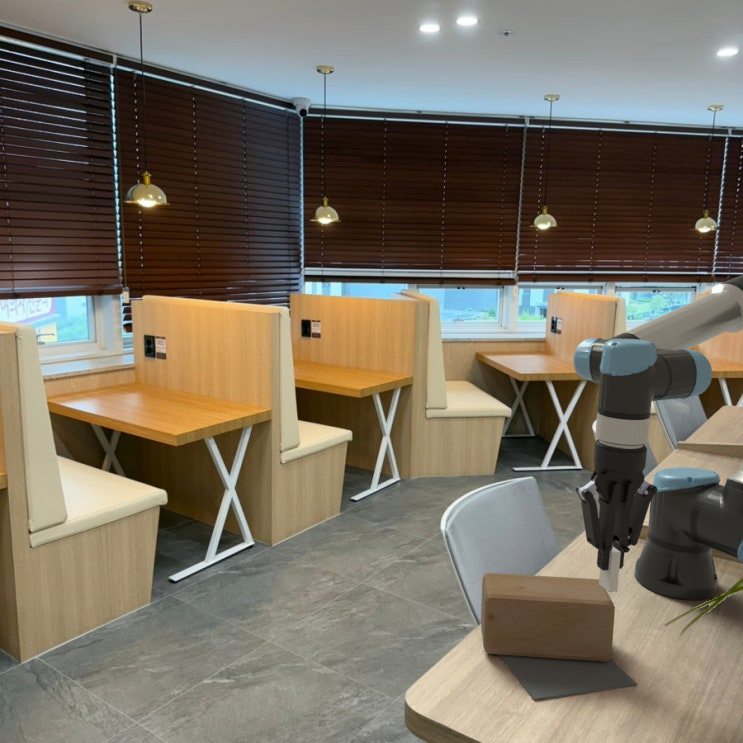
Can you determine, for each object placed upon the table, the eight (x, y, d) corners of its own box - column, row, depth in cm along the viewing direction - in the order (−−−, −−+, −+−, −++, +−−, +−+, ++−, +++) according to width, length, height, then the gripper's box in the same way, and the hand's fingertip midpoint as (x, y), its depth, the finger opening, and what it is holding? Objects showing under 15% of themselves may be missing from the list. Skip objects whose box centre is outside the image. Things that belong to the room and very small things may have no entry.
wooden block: (616, 604, 107) (486, 596, 109) (612, 664, 108) (483, 656, 110) (602, 577, 117) (482, 570, 118) (598, 632, 118) (480, 625, 120)
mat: (592, 642, 115) (592, 640, 115) (636, 685, 104) (636, 683, 104) (498, 654, 111) (498, 652, 111) (534, 700, 100) (534, 698, 100)
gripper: (642, 433, 109) (629, 573, 113) (569, 437, 106) (558, 580, 110) (674, 446, 102) (659, 595, 106) (596, 450, 99) (583, 603, 103)
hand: (608, 587), depth 108 cm, fingers closed
